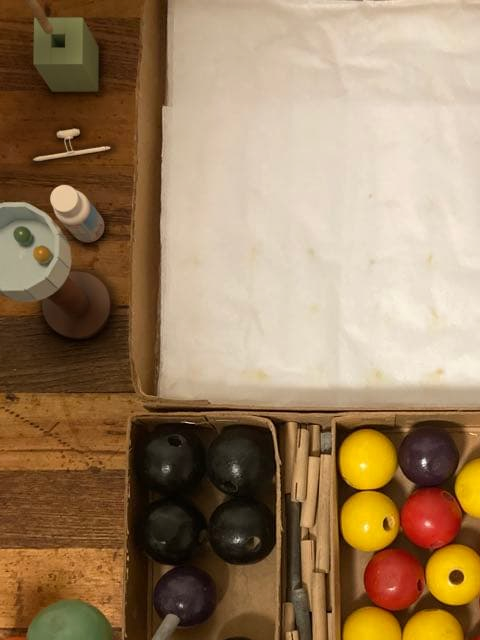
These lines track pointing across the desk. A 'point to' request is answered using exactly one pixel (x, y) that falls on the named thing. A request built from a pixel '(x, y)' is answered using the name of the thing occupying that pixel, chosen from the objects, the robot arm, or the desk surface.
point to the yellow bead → (42, 254)
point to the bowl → (31, 254)
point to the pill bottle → (77, 213)
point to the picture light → (69, 135)
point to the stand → (67, 55)
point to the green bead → (22, 235)
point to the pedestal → (78, 306)
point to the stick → (40, 16)
